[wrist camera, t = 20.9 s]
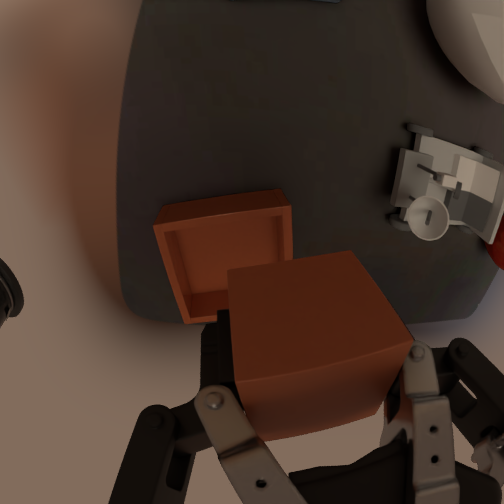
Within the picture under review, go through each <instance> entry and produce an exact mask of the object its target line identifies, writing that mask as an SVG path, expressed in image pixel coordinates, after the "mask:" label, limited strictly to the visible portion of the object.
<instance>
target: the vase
mask: <svg viewBox="0 0 504 504" xmlns="http://www.w3.org/2000/svg"><path fill="white" fill-rule="evenodd" d="M426 11H427V15H428V19H429V23H430V26H431V28H432V31H433V33H434V36H435V38H436V40H437V42H438V44H439V45H440V47H441V49H442V51H443V52H444V54H445V55H446V56H447V58H448V59H449V61H450V62H451V63H452V64H453V65H454V66H455V68H456V69H457V70H458V71H459V72H460V73H461V74H462V75H463V76H464V77H465V78H466V79H467V81H468V82H469V83H471V84H472V85H474V86H475V87H477V88H478V89H479V90H481V91H482V92H484V93H485V94H486V95H488V96H489V97H491V98H492V99H493V100H495V101H496V102H497V103H500V104H504V0H426Z"/></svg>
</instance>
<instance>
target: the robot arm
mask: <svg viewBox="0 0 504 504" xmlns="http://www.w3.org/2000/svg"><path fill="white" fill-rule="evenodd" d="M386 299H387V298H386ZM387 300H388V299H387ZM388 302H389V300H388ZM389 303H390V302H389ZM14 305H15V301H14V296H13V293H12V291H11V288H10V286H9V285H8V283H7V281H6V280H5V278H4V277H3V276H2V275H1V273H0V327H1V326H2V324H3V323H4V321H5V320H7V319H8V317H9V314H10V313H11V311H12V310H13V308H14ZM390 305H391V303H390ZM391 306H392V305H391ZM392 308H393V306H392ZM394 310H395V309H394ZM395 312H396V311H395ZM396 313H397V312H396ZM397 315H398V313H397ZM399 318H400V316H399ZM400 319H401V318H400ZM401 321H402V319H401ZM402 322H403V321H402ZM403 324H404V322H403ZM404 325H405V324H404ZM405 327H406V325H405ZM406 328H407V327H406ZM407 330H408V328H407ZM408 331H409V330H408ZM409 333H410V331H409ZM410 335H411V333H410ZM411 336H412V335H411ZM412 338H413V336H412ZM200 369H201V372H200V377H201V379H200V389H199V392H198V393H197V395H196V396H195V397H194V398H193V399H192V400H191V401H189V402H188V403H186V404H183V405H180V406H177V407H174V408H171V409H169V408H168V407H166V406H163V405H151V406H148V407H147V408H145V409H144V410H143V411H142V412H141V413H140V415H139V417H138V419H137V422H136V425H135V428H134V430H133V433H132V436H131V439H130V441H129V444H128V447H127V449H126V452H125V455H124V458H123V461H122V464H121V467H120V470H119V473H118V476H117V479H116V482H115V484H114V488H113V491H112V494H111V497H110V500H109V503H108V504H184V501H185V496H186V492H187V488H188V484H189V480H190V476H191V472H192V467H193V464H194V459H195V455H196V452H198V451H201V450H204V449H207V448H210V447H212V446H213V447H214V449H215V451H216V453H217V455H218V459H219V461H220V464H221V466H222V468H223V469H224V471H225V473H226V475H227V477H228V479H229V480H230V482H231V484H232V486H233V487H234V489H235V491H236V493H237V494H238V496H239V498H240V499H241V501H242V503H243V504H501V500H502V490H501V487H502V486H503V484H504V375H503V374H502V373H501V372H500V371H499V370H498V369H497V368H496V367H495V366H494V365H493V364H492V363H491V362H490V361H489V360H488V359H487V358H486V357H485V356H484V355H483V354H482V353H481V352H480V351H479V350H478V349H477V348H476V347H475V346H474V345H473V344H472V343H471V342H470V341H468V340H467V339H464V338H455V339H454V340H452V341H451V342H450V344H449V346H448V347H443V348H430V347H429V346H428V345H427V344H426V343H424V342H422V341H418V340H415V339H414V338H413V343H412V345H411V348H410V350H409V352H408V354H407V356H406V358H405V361H404V363H403V365H402V367H401V369H400V371H399V373H398V375H397V377H396V378H395V380H394V382H393V384H392V386H391V388H390V390H389V391H388V393H387V395H386V397H385V399H384V428H383V432H382V435H381V439H380V447H379V448H377V449H375V450H373V451H372V452H370V453H369V454H367V455H365V456H364V457H362V458H361V459H359V460H357V461H356V462H354V463H352V464H350V465H340V466H319V467H314V468H310V469H305V470H300V471H295V472H290V473H289V476H287V475H286V473H285V472H284V471H283V469H282V468H281V466H280V465H279V463H278V462H277V461H276V459H275V457H274V456H273V454H272V453H271V451H270V450H269V448H268V447H267V445H266V444H265V443H264V441H263V440H262V439H261V438H260V437H259V436H258V434H257V433H256V431H255V430H254V428H253V426H252V425H251V423H250V422H249V420H248V418H247V417H246V415H245V413H244V408H243V405H242V402H241V399H240V396H239V393H238V390H237V387H236V384H235V377H234V365H233V353H232V340H231V327H230V313H229V308H228V309H221V310H217V323H210V324H206V326H205V328H204V330H203V331H202V333H201V368H200ZM460 379H461V380H462V381H463V383H464V384H465V385H466V386H467V387H468V388H469V389H470V390H471V391H472V392H473V393H474V394H475V396H476V398H477V399H475V398H473V397H472V395H471V394H470V393H469V392H468V391H467V390H466V389H465V388H464V387H463V386H462V384H461V383H460V382H459V380H460ZM452 422H453V423H454V424H455V426H456V427H457V428H458V429H459V431H460V432H461V433H462V434H463V435H464V437H465V438H466V439H467V440H468V441H469V443H470V444H471V445H472V446H473V448H474V453H473V454H472V457H471V460H472V462H474V463H477V465H478V470H475V469H473V468H471V467H468V466H466V465H464V464H462V463H459V462H457V461H455V455H454V439H453V428H452Z"/></svg>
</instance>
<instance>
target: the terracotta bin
mask: <svg viewBox="0 0 504 504" xmlns="http://www.w3.org/2000/svg"><path fill="white" fill-rule="evenodd" d="M153 228H154V232H155V235H156V239H157V242H158V245H159V249H160V252H161V255H162V259H163V262H164V265H165V268H166V271H167V274H168V278H169V281H170V284H171V287H172V290H173V292H174V295H175V298H176V301H177V304H178V307H179V310H180V312H181V315H182V318H183V321H184V323H185V324H190V323H200V322H209V321H217V310H221V309H228V308H229V298H228V283H227V270H229V269H235V268H242V267H248V266H255V265H261V264H268V263H274V262H281V261H287V260H293V237H292V210H291V205H290V203H289V201H288V200H287V198H286V197H285V195H284V193H283V192H282V190H281V189H271V190H263V191H255V192H247V193H239V194H232V195H225V196H218V197H211V198H205V199H198V200H192V201H186V202H180V203H174V204H169V205H163V206H162V208H161V210H160V212H159V214H158V216H157V218H156V220H155V222H154V224H153Z"/></svg>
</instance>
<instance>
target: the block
mask: <svg viewBox="0 0 504 504" xmlns="http://www.w3.org/2000/svg"><path fill="white" fill-rule="evenodd" d="M227 283H228V298H229V313H230V327H231V340H232V353H233V365H234V377H235V384H236V387H237V390H238V393H239V396H240V399H241V402H242V405H243V408H244V411H245V414H246V417H247V418H248V420H249V422H250V423H251V425H252V426H253V428H254V430H255V431H256V433H257V434H258V436H259V437H260V438H261V439H262V440H263V441H264V442H265V441H272V440H278V439H283V438H289V437H294V436H299V435H304V434H308V433H312V432H317V431H321V430H325V429H329V428H333V427H336V426H340V425H344V424H347V423H350V422H353V421H357V420H360V419H363V418H366V417H369V416H372V415H375V413H376V412H377V410H378V409H379V407H380V405H381V404H382V402H383V400H384V399H385V397H386V395H387V393H388V391H389V390H390V388H391V386H392V384H393V382H394V380H395V378H396V377H397V375H398V373H399V371H400V369H401V367H402V365H403V363H404V361H405V358H406V356H407V354H408V352H409V350H410V348H411V345H412V343H413V338H412V336H411V335H410V333H409V331H408V330H407V328H406V327H405V325H404V324H403V322H402V321H401V319H400V318H399V316H398V315H397V313H396V312H395V310H394V309H393V308H392V306H391V305H390V303H389V302H388V300H387V299H386V297H385V296H384V295H383V293H382V292H381V290H380V289H379V288H378V286H377V285H376V283H375V282H374V281H373V279H372V278H371V276H370V275H369V274H368V272H367V271H366V270H365V268H364V267H363V266H362V264H361V263H360V262H359V260H358V259H357V258H356V256H355V255H354V254H353V252H352V251H351V250H348V251H342V252H336V253H330V254H324V255H318V256H312V257H306V258H299V259H293V260H287V261H281V262H274V263H268V264H261V265H255V266H248V267H242V268H235V269H229V270H227Z"/></svg>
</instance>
